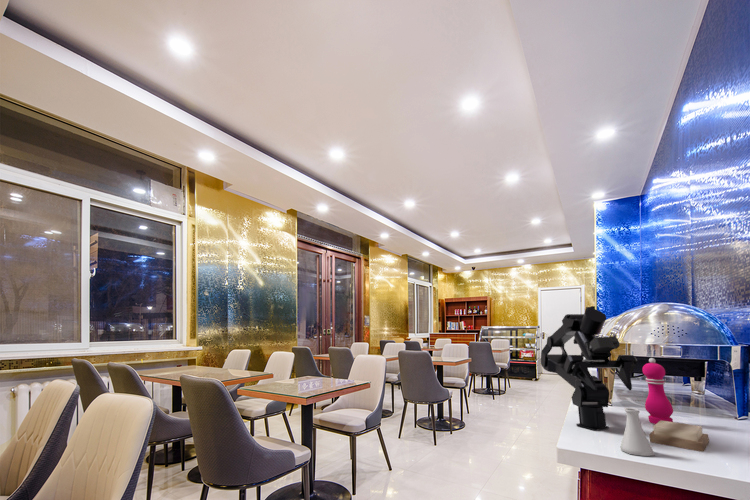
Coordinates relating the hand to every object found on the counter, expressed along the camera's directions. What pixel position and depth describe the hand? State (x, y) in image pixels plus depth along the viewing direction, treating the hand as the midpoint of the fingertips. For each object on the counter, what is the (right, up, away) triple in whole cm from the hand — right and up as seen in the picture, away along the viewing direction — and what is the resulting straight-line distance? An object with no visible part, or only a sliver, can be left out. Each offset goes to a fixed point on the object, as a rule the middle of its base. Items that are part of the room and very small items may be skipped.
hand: (613, 389), depth 104 cm
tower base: (+16, -13, -3) cm, 21 cm away
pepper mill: (+25, -17, +16) cm, 35 cm away
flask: (-1, -12, -10) cm, 16 cm away
